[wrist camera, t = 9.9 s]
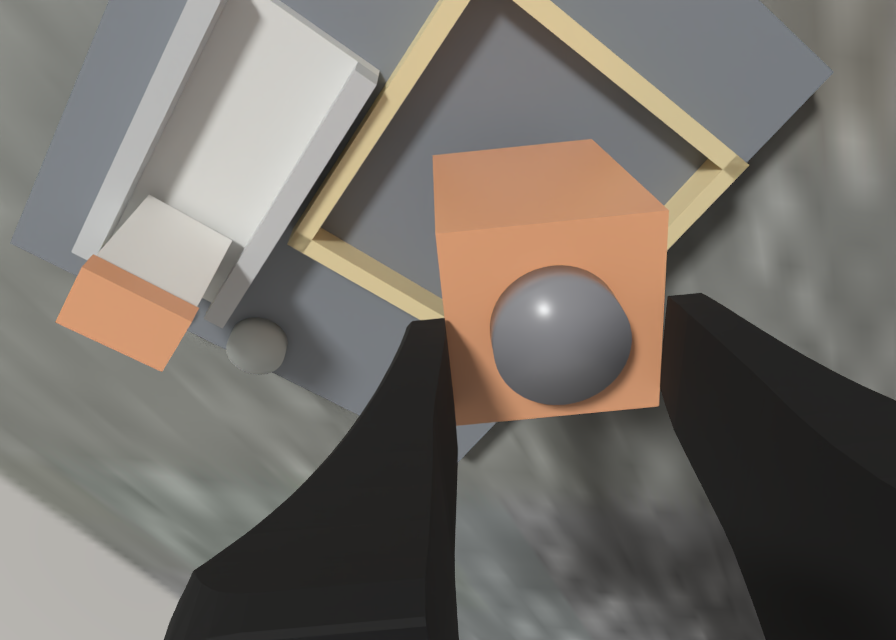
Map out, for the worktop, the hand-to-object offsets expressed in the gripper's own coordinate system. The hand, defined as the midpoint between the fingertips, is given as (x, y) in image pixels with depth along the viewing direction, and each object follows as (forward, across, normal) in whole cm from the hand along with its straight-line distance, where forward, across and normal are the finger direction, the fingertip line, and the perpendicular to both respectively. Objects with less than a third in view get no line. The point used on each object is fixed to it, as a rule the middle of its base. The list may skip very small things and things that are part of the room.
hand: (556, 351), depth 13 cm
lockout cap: (+6, 0, 0) cm, 6 cm away
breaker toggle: (+7, +9, 0) cm, 12 cm away
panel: (+9, +3, -1) cm, 10 cm away
